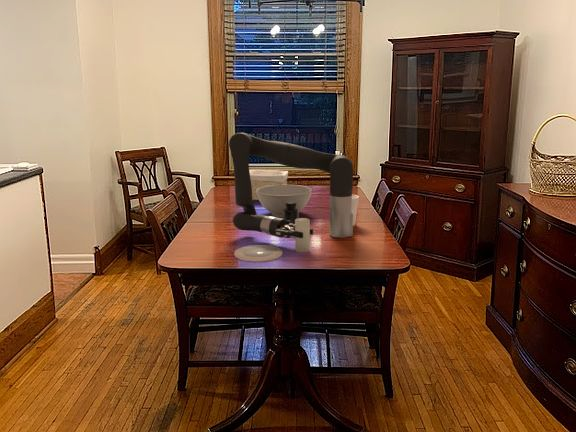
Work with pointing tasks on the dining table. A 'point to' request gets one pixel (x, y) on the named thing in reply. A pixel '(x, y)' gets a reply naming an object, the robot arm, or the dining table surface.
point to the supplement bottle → (290, 212)
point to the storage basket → (266, 179)
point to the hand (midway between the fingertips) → (307, 233)
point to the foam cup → (354, 207)
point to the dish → (258, 253)
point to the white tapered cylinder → (304, 242)
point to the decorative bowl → (282, 197)
